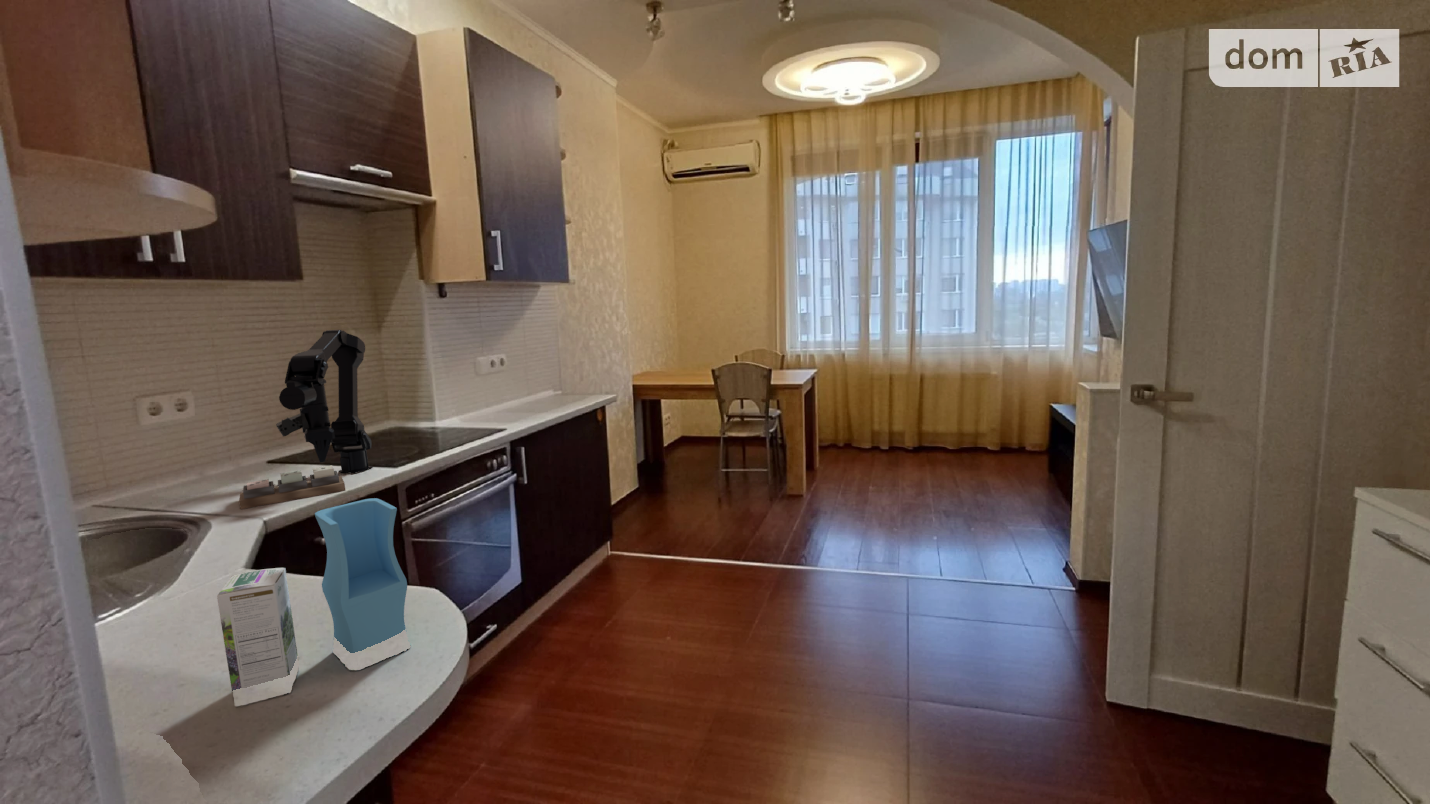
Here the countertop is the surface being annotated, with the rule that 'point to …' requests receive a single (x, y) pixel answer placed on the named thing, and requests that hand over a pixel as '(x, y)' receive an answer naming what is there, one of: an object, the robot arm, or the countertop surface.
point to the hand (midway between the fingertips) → (322, 461)
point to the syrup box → (257, 627)
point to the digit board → (290, 491)
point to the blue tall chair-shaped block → (362, 573)
